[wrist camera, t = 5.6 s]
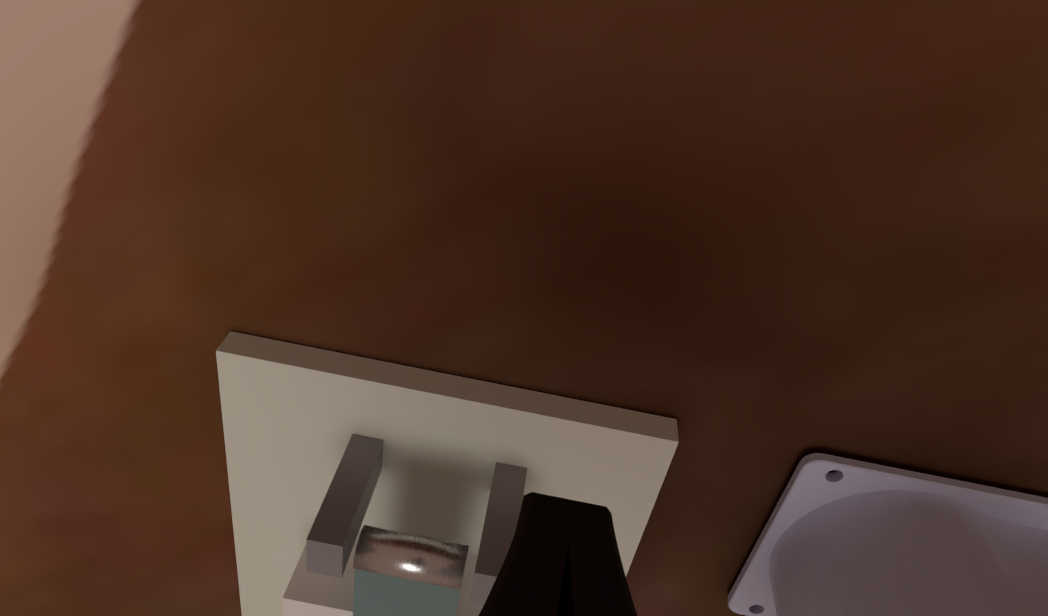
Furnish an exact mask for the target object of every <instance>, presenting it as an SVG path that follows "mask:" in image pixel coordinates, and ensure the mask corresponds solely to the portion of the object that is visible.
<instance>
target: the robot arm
mask: <svg viewBox="0 0 1048 616" xmlns="http://www.w3.org/2000/svg"><path fill="white" fill-rule="evenodd" d="M832 470H837V471H836V472H833V473H828V472H829V471H832ZM727 599H728V606H729V608H730V610H732V611H733V612H735V613H738V614H742V615H747V616H1048V498H1046V497H1041V496H1036V495H1031V494H1025V493H1020V492H1015V491H1010V490H1005V489H1000V488H995V487H990V486H985V485H980V484H975V483H970V482H965V481H960V480H955V479H949V478H944V477H939V476H934V475H929V474H924V473H919V472H914V471H909V470H904V469H899V468H894V467H889V466H884V465H879V464H873V463H868V462H863V461H858V460H853V459H848V458H843V457H838V456H833V455H828V454H823V453H813V454H809V455H807V456H805V457H803V458H802V459H801V461H800V462H799V464H798V466H797V468H796V469H795V471H794V473H793V475H792V477H791V479H790V481H789V482H788V484H787V486H786V488H785V490H784V492H783V494H782V496H781V497H780V499H779V501H778V503H777V505H776V507H775V509H774V511H773V512H772V514H771V516H770V518H769V520H768V522H767V524H766V525H765V527H764V529H763V531H762V533H761V535H760V537H759V539H758V540H757V542H756V544H755V546H754V548H753V550H752V552H751V554H750V555H749V557H748V559H747V561H746V563H745V565H744V567H743V568H742V570H741V572H740V574H739V576H738V578H737V580H736V582H735V583H734V585H733V587H732V589H731V591H730V593H729V595H728V598H727ZM478 616H637V613H636V610H635V607H634V604H633V601H632V597H631V594H630V591H629V587H628V584H627V580H626V576H625V573H624V569H623V565H622V561H621V557H620V553H619V549H618V545H617V540H616V536H615V531H614V526H613V520H612V514H611V512H610V511H609V509H608V508H607V507H606V506H601V505H595V504H590V503H585V502H580V501H575V500H570V499H565V498H560V497H555V496H550V495H545V494H540V493H535V492H531V493H528V494H526V495H524V497H523V501H522V505H521V509H520V514H519V518H518V522H517V526H516V530H515V534H514V537H513V540H512V543H511V545H510V548H509V550H508V553H507V555H506V558H505V560H504V563H503V565H502V567H501V569H500V572H499V574H498V576H497V578H496V580H495V582H494V584H493V587H492V589H491V591H490V593H489V595H488V597H487V600H486V602H485V604H484V606H483V608H482V610H481V612H480V614H479V615H478Z"/></svg>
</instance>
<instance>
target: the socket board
mask: <svg viewBox="0 0 1048 616" xmlns="http://www.w3.org/2000/svg"><path fill="white" fill-rule="evenodd" d="M216 357H217V367H218V377H219V387H220V397H221V408H222V418H223V428H224V438H225V448H226V459H227V469H228V479H229V489H230V499H231V510H232V520H233V530H234V540H235V550H236V561H237V571H238V581H239V591H240V601H241V612H242V616H353V597H354V575H355V569H353V561H354V555H355V550H356V546H357V542H358V539H359V535H360V533H361V530H362V528H363V526H364V525H368V526H373V527H378V528H383V529H388V530H393V531H398V532H403V533H408V534H413V535H418V536H423V537H428V538H434V539H439V540H444V541H449V542H454V543H459V544H464V545H469V548H468V554H467V559H466V564H465V569H464V575H463V580H462V585H461V591H460V596H459V601H458V607H457V612H456V616H478V615H479V614H480V612H481V610H482V608H483V606H484V604H485V602H486V600H487V597H488V595H489V593H490V591H491V589H492V587H493V584H494V582H495V580H496V578H497V576H498V574H499V572H500V569H501V567H502V565H503V563H504V560H505V558H506V555H507V553H508V550H509V548H510V545H511V543H512V540H513V537H514V534H515V530H516V526H517V522H518V518H519V514H520V509H521V505H522V501H523V497H524V495H526V494H528V493H531V492H535V493H540V494H545V495H550V496H555V497H560V498H565V499H570V500H575V501H580V502H585V503H590V504H595V505H601V506H606V507H607V508H608V509H609V511H610V512H611V514H612V520H613V526H614V531H615V536H616V540H617V545H618V549H619V553H620V557H621V561H622V565H623V569H624V573H625V576H626V575H627V572H628V570H629V567H630V565H631V562H632V560H633V557H634V555H635V552H636V550H637V547H638V544H639V542H640V539H641V537H642V534H643V532H644V529H645V527H646V524H647V522H648V519H649V516H650V514H651V511H652V509H653V506H654V504H655V501H656V499H657V496H658V494H659V491H660V488H661V486H662V483H663V481H664V478H665V476H666V473H667V471H668V468H669V466H670V463H671V460H672V458H673V455H674V453H675V450H676V448H677V445H678V443H679V439H678V429H677V419H673V418H668V417H663V416H658V415H653V414H648V413H643V412H638V411H633V410H627V409H622V408H617V407H612V406H607V405H602V404H597V403H592V402H587V401H582V400H577V399H572V398H567V397H562V396H557V395H551V394H546V393H541V392H536V391H531V390H526V389H521V388H516V387H511V386H506V385H501V384H496V383H491V382H486V381H481V380H475V379H470V378H465V377H460V376H455V375H450V374H445V373H440V372H435V371H430V370H425V369H420V368H415V367H410V366H405V365H399V364H394V363H389V362H384V361H379V360H374V359H369V358H364V357H359V356H354V355H349V354H344V353H339V352H334V351H329V350H323V349H318V348H313V347H308V346H303V345H298V344H293V343H288V342H283V341H278V340H273V339H268V338H263V337H258V336H253V335H247V334H242V333H237V332H232V331H230V333H229V334H228V335H227V337H226V338H225V339H224V341H223V342H222V343H221V345H220V346H219V347H218V349H217V350H216Z"/></svg>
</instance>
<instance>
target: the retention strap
mask: <svg viewBox="0 0 1048 616" xmlns="http://www.w3.org/2000/svg"><path fill="white" fill-rule="evenodd" d="M468 548H469V545H464V544H459V543H454V542H449V541H444V540H439V539H434V538H428V537H423V536H418V535H413V534H408V533H403V532H398V531H393V530H388V529H383V528H378V527H373V526H368V525H364V526H363V528H362V530H361V533H360V535H359V539H358V542H357V546H356V550H355V555H354V561H353V569H355V575H354V597H353V616H456V612H457V607H458V601H459V596H460V591H461V585H462V580H463V575H464V569H465V564H466V559H467V554H468Z"/></svg>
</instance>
